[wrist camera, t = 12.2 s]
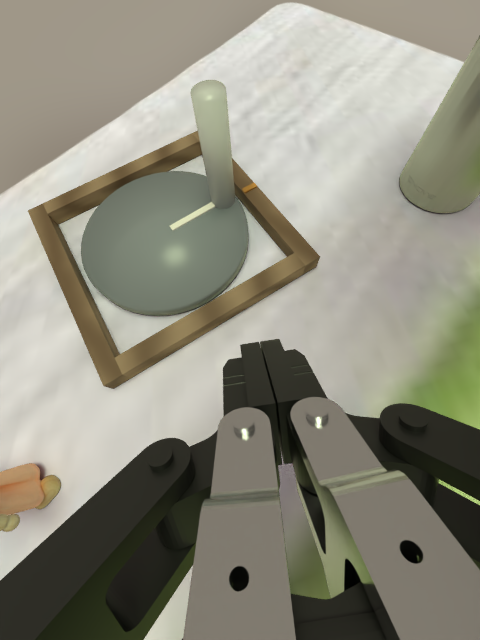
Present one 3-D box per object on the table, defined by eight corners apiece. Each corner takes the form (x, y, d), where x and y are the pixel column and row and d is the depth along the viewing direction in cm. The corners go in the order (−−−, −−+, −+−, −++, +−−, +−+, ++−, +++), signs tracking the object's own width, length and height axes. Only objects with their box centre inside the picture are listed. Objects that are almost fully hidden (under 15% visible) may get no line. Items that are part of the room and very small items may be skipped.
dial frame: (206, 140, 41) (204, 125, 39) (316, 266, 33) (320, 255, 31) (39, 221, 37) (26, 209, 35) (113, 388, 29) (102, 385, 27)
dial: (117, 176, 39) (51, 56, 27) (258, 186, 37) (259, 62, 25) (64, 304, 32) (-59, 224, 20) (234, 326, 30) (219, 252, 18)
